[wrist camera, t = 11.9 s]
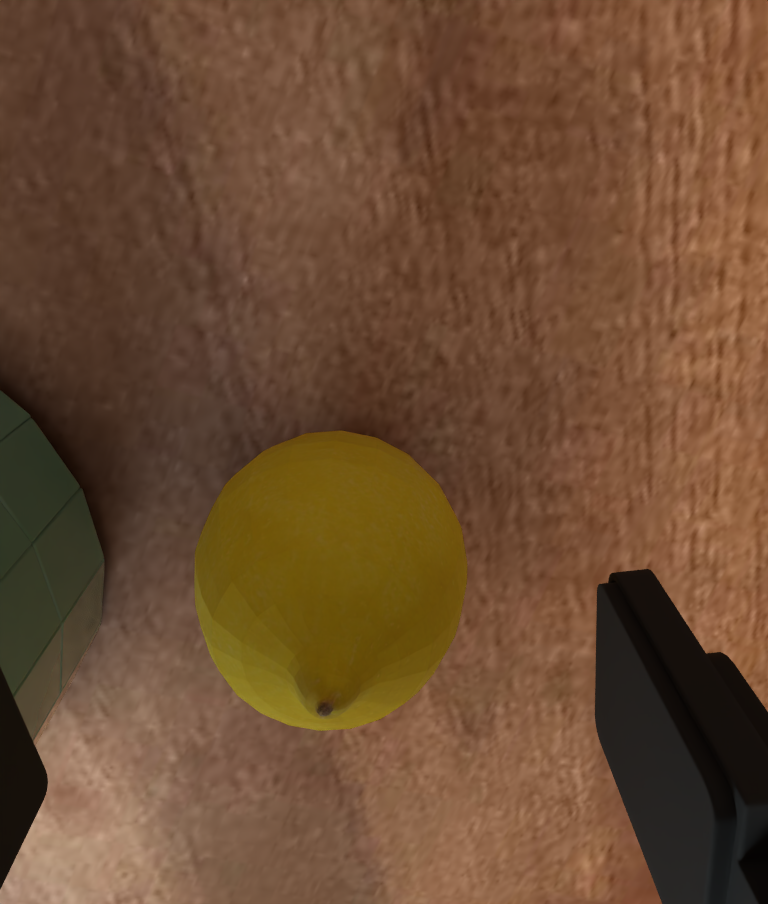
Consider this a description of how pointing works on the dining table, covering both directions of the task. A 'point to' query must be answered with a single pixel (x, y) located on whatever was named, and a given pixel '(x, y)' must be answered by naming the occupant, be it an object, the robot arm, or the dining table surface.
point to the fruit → (330, 580)
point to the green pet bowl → (43, 569)
